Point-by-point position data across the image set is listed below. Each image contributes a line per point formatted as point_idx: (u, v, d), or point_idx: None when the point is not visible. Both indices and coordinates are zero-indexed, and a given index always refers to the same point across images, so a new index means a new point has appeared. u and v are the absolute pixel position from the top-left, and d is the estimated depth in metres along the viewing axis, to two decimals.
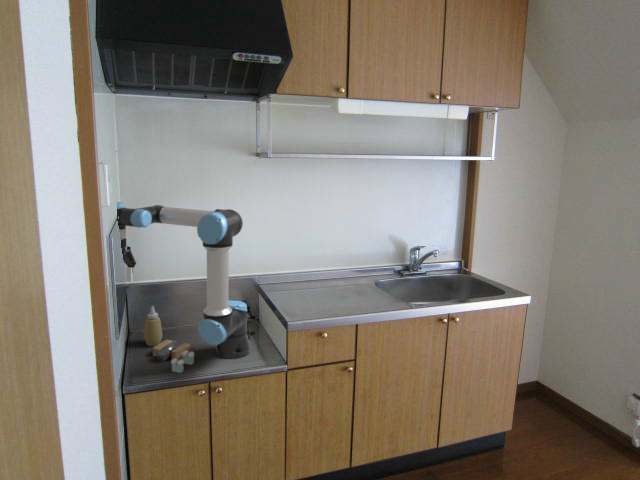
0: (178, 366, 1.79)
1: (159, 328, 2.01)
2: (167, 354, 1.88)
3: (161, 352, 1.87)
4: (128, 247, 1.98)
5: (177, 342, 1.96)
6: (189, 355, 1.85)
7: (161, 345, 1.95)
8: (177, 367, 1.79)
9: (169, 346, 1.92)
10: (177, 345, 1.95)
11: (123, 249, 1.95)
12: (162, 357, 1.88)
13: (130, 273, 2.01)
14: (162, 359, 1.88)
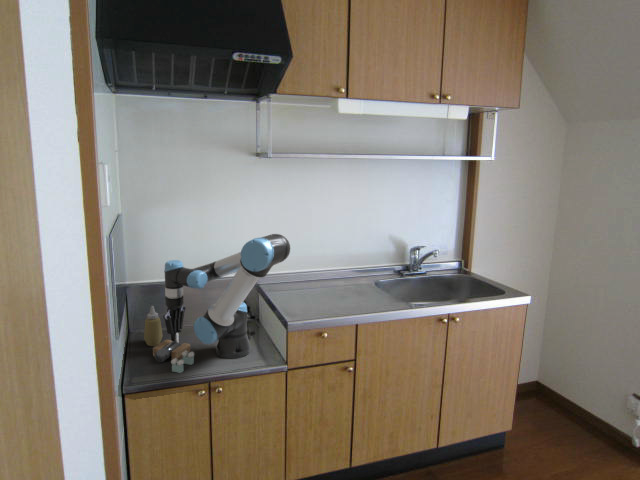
0: (178, 366, 1.79)
1: (159, 328, 2.01)
2: (166, 356, 1.87)
3: (160, 353, 1.86)
4: (184, 307, 1.99)
5: (177, 344, 1.95)
6: (189, 355, 1.85)
7: (161, 345, 1.95)
8: (177, 367, 1.79)
9: (169, 347, 1.90)
10: (177, 347, 1.94)
11: (180, 305, 1.96)
12: (160, 358, 1.86)
13: None
14: (160, 360, 1.87)
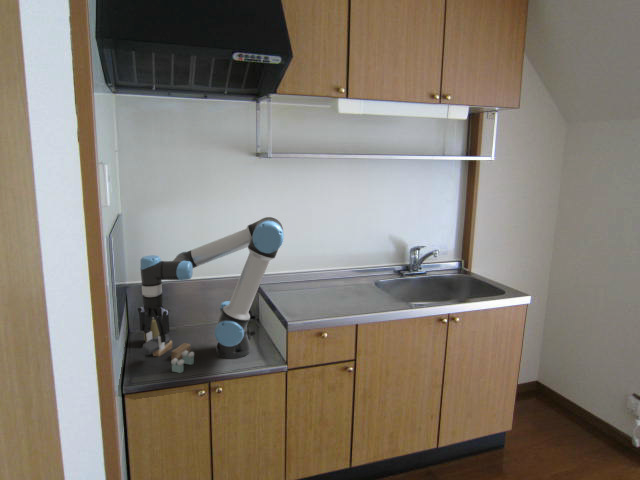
0: (178, 366, 1.79)
1: None
2: (153, 344, 1.78)
3: (146, 344, 1.78)
4: (163, 311, 1.77)
5: None
6: (189, 355, 1.85)
7: None
8: (177, 367, 1.79)
9: (154, 338, 1.82)
10: None
11: (157, 308, 1.78)
12: (149, 349, 1.78)
13: None
14: (150, 351, 1.78)
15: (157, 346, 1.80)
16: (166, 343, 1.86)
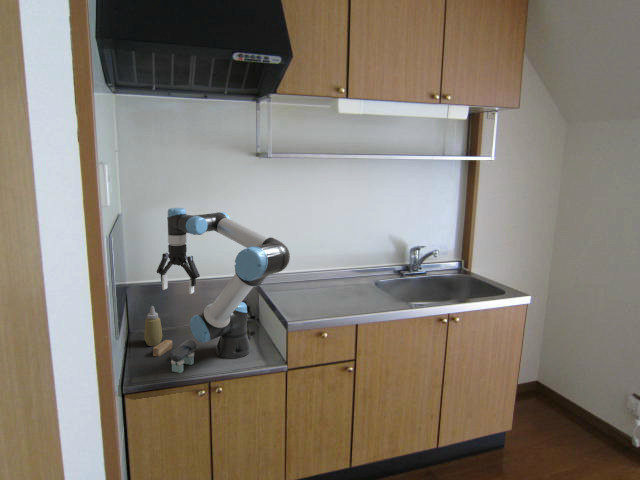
0: (178, 366, 1.79)
1: (159, 328, 2.01)
2: (181, 352, 1.78)
3: (174, 351, 1.78)
4: (187, 257, 1.90)
5: (190, 340, 1.87)
6: (189, 355, 1.85)
7: (161, 345, 1.95)
8: (177, 367, 1.79)
9: (182, 345, 1.82)
10: (191, 343, 1.85)
11: (181, 257, 1.91)
12: (177, 356, 1.78)
13: None
14: (178, 359, 1.78)
15: (184, 354, 1.80)
16: (192, 350, 1.86)
